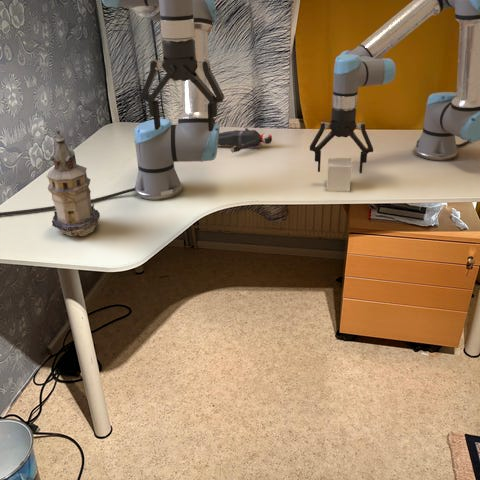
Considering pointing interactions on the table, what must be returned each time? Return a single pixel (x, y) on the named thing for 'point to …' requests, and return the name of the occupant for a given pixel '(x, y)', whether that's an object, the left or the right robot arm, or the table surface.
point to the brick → (339, 174)
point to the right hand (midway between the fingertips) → (339, 171)
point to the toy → (243, 139)
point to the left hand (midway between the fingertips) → (184, 128)
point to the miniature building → (70, 193)
